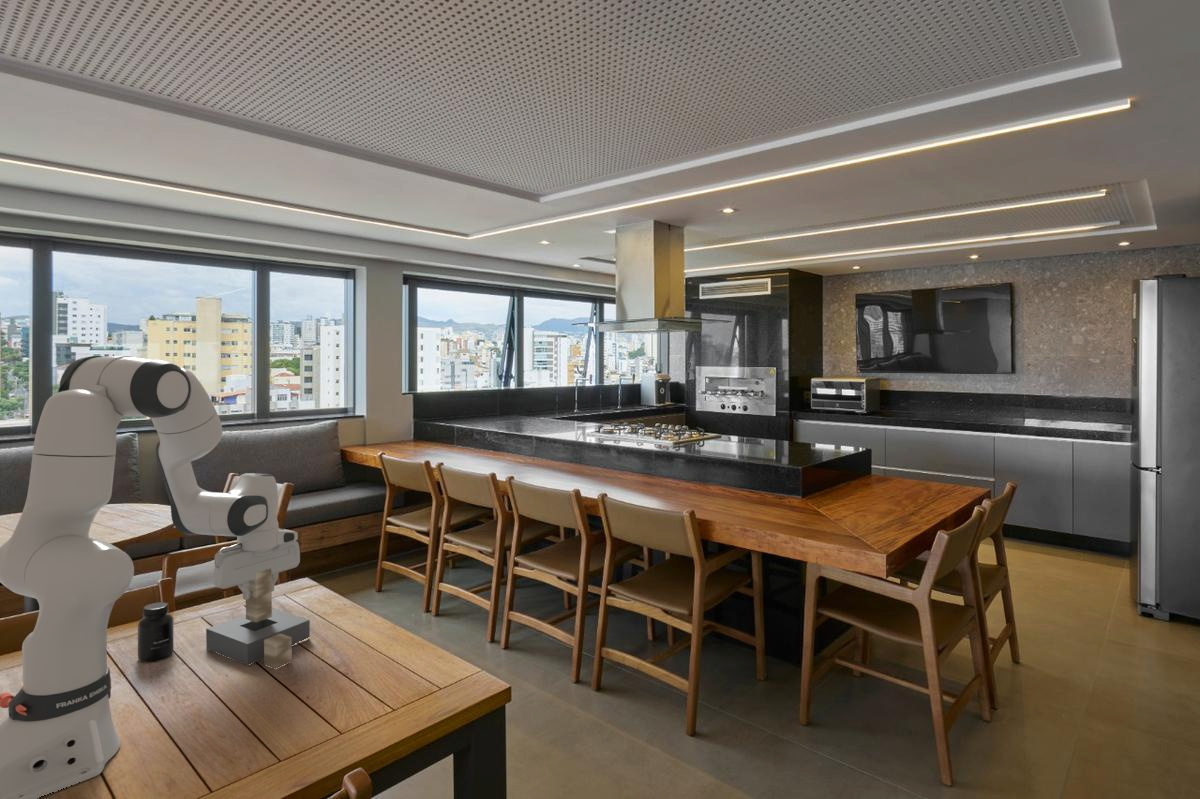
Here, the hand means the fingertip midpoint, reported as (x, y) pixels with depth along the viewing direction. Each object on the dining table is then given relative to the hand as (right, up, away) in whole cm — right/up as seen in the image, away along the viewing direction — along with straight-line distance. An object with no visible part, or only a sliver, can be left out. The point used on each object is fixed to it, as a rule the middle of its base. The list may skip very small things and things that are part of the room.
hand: (258, 595), depth 155 cm
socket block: (0, -12, +1) cm, 12 cm away
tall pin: (0, -6, 0) cm, 6 cm away
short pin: (+9, -13, -9) cm, 18 cm away
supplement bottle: (-20, -12, -7) cm, 25 cm away
